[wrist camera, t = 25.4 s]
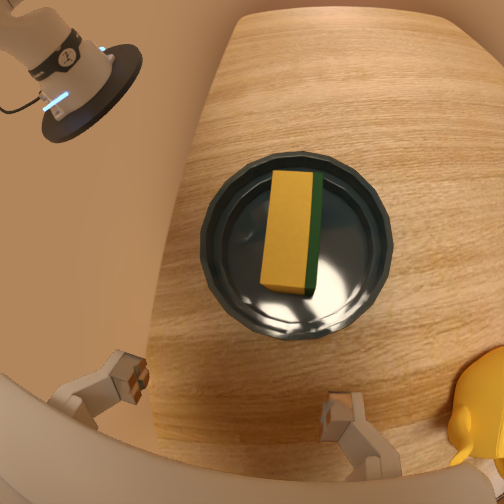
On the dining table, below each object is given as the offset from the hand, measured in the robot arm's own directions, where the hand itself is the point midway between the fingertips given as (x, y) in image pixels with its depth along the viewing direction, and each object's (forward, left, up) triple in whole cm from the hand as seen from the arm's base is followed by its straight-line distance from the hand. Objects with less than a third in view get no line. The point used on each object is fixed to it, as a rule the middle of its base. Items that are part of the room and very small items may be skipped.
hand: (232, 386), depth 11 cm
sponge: (-3, +9, -16) cm, 19 cm away
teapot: (+27, +6, -17) cm, 33 cm away
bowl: (-4, +9, -17) cm, 19 cm away
